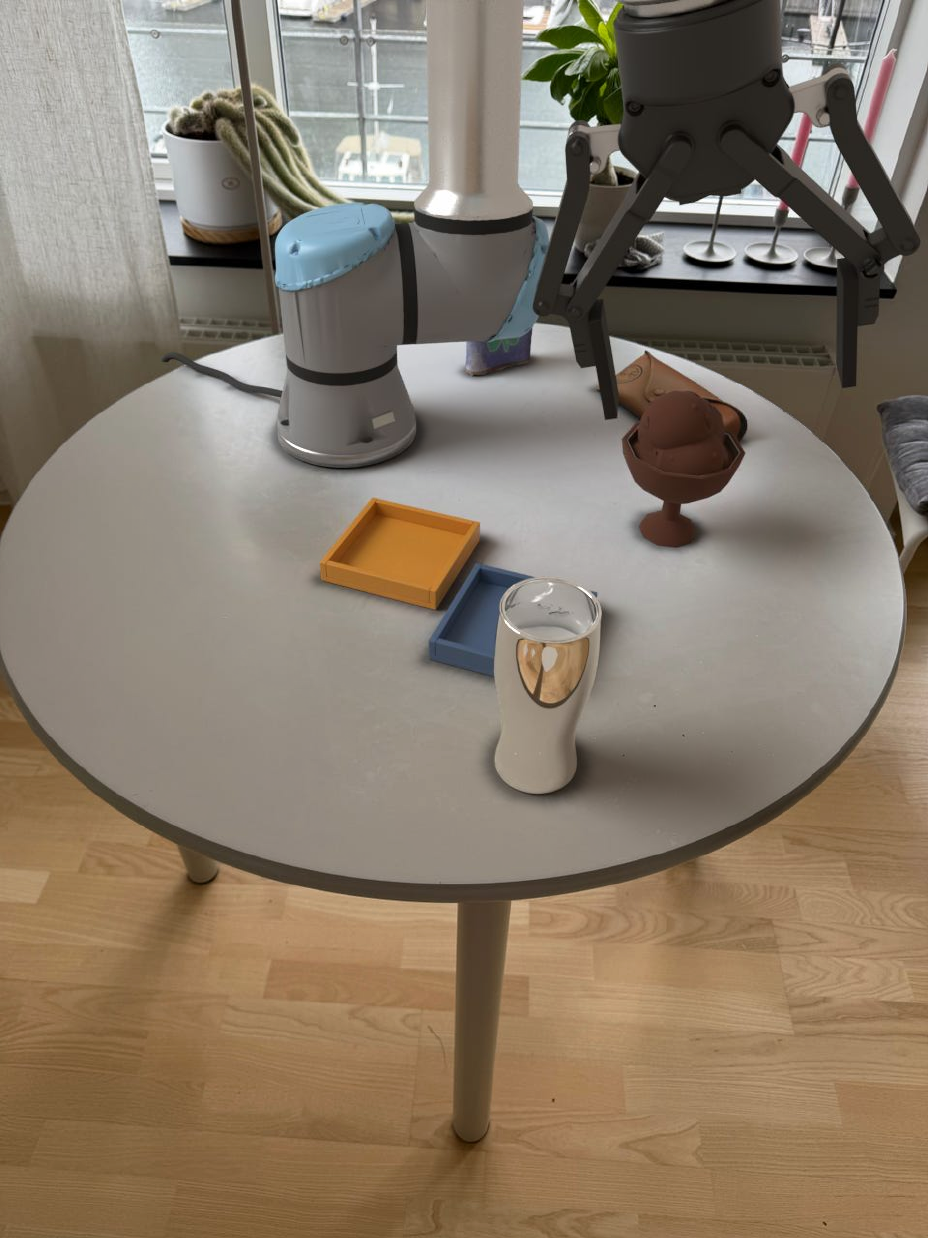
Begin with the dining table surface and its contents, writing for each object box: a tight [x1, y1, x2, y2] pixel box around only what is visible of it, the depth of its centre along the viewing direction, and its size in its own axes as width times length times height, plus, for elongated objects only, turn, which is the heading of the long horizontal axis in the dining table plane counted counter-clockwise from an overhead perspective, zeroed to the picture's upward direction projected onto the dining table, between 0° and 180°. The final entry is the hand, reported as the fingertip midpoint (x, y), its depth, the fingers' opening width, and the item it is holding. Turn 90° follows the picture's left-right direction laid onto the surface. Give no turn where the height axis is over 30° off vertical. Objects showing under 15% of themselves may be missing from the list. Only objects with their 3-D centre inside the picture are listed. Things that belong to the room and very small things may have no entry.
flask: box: [464, 328, 533, 377], centre depth 117 cm, size 9×3×11 cm, turn 121°
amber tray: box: [319, 497, 481, 611], centre depth 89 cm, size 11×11×2 cm
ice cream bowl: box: [621, 391, 746, 548], centre depth 89 cm, size 11×11×15 cm
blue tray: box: [428, 562, 598, 678], centre depth 82 cm, size 11×11×2 cm
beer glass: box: [493, 576, 603, 795], centre depth 66 cm, size 7×7×15 cm
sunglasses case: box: [594, 349, 749, 443], centre depth 111 cm, size 18×7×7 cm
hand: (725, 392), depth 58 cm, fingers open, 13 cm apart
